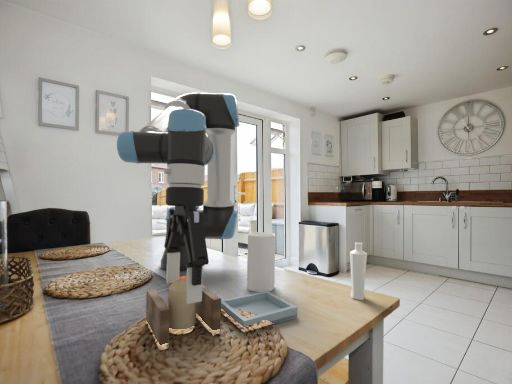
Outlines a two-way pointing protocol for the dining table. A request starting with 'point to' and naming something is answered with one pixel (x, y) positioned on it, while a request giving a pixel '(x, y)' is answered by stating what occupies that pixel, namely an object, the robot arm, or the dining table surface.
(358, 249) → the perfume bottle
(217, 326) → the cradle
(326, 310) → the dining table surface
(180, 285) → the candle
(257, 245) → the white tall cylinder
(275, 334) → the dining table surface
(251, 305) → the tray
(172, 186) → the robot arm
